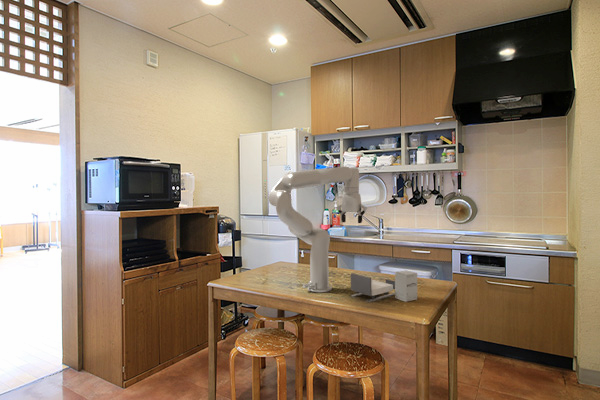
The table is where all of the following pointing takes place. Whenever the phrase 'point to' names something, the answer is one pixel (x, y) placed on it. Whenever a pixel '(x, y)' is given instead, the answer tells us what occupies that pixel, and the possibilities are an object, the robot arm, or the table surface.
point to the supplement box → (406, 285)
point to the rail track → (380, 296)
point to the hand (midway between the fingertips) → (351, 222)
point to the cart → (369, 286)
